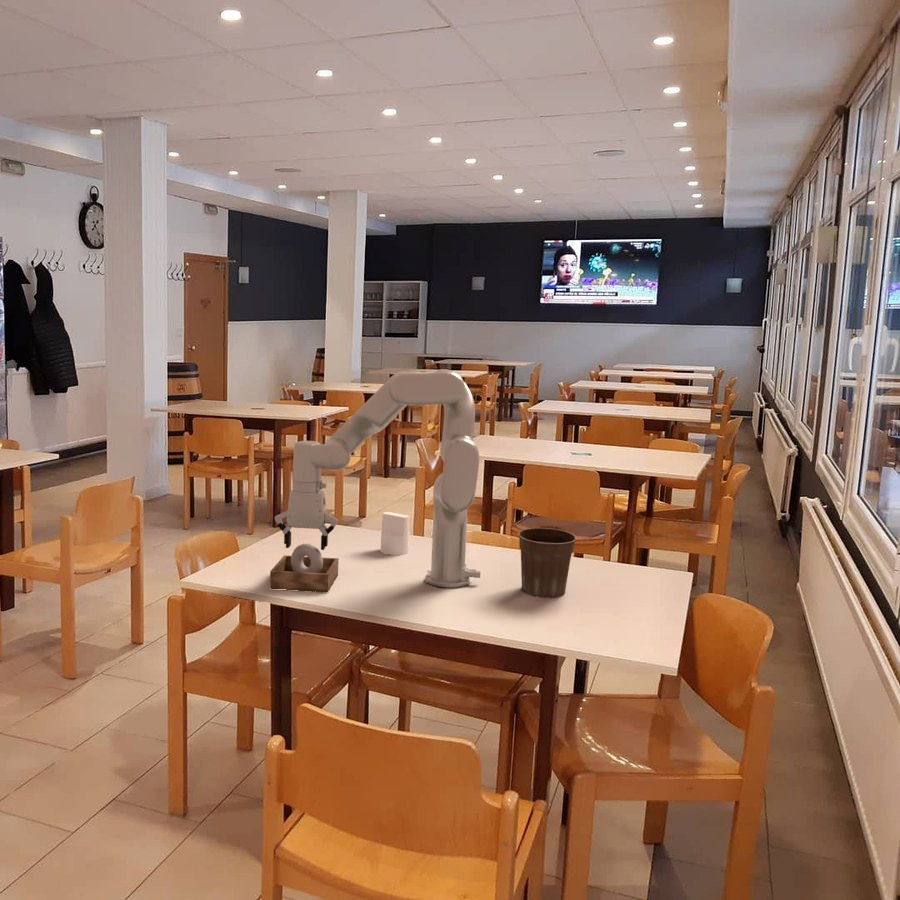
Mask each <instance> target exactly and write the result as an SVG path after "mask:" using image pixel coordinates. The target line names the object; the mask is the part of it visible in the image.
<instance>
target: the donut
mask: <svg viewBox="0 0 900 900" xmlns="http://www.w3.org/2000/svg"><path fill="white" fill-rule="evenodd" d="M290 556H291V565H292V568H293V570H294V572H306V573H320V572H321V570H322V567H323V558H324V557H323V556H322V552H320V550H319V548H318V547H316V546H315V545H313V544H311V543H302V544H299V545H297V546H296V547H295V548H294V549H293V551H292V553H291V555H290ZM304 556H305V557H309V558H310V561H311V565H310V567H306V566H305V565H304V563H303V558H304ZM322 557H323V558H322Z"/></svg>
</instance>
